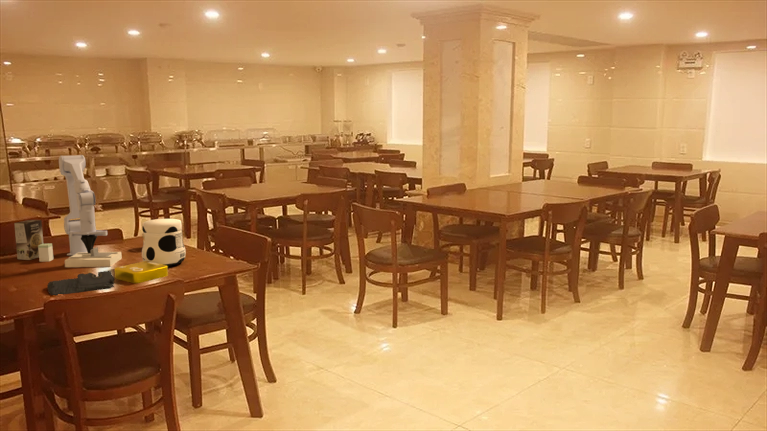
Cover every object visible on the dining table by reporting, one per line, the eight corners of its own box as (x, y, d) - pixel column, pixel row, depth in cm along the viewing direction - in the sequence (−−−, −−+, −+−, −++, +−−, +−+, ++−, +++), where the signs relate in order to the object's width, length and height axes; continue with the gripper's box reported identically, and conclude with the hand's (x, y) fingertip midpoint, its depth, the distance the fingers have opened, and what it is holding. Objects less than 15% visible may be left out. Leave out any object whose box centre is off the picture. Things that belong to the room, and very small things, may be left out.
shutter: (96, 254, 265) (95, 247, 264) (111, 253, 265) (111, 246, 265) (90, 257, 258) (89, 250, 258) (106, 257, 259) (105, 250, 259)
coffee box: (29, 260, 266) (26, 223, 264) (17, 259, 268) (13, 222, 265) (45, 255, 275) (42, 219, 273) (32, 254, 277) (29, 219, 274)
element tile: (170, 276, 243) (169, 264, 242) (136, 285, 231) (135, 272, 230) (146, 270, 251) (146, 259, 250) (112, 278, 239) (111, 266, 238)
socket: (78, 259, 268) (78, 251, 268) (121, 258, 270) (121, 250, 269) (65, 267, 255) (64, 259, 254) (110, 266, 256) (109, 258, 255)
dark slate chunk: (46, 287, 228) (45, 274, 227) (111, 279, 239) (110, 267, 238) (48, 298, 215) (47, 284, 214) (117, 288, 226) (116, 276, 225)
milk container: (140, 261, 264) (137, 220, 261) (182, 257, 272) (180, 217, 269) (145, 271, 249) (142, 227, 246) (189, 266, 257) (187, 223, 254)
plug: (43, 259, 268) (42, 243, 267) (53, 259, 268) (52, 243, 267) (39, 261, 264) (38, 245, 263) (49, 261, 265) (47, 245, 263)
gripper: (65, 222, 255) (68, 255, 257) (102, 222, 256) (104, 254, 258) (72, 219, 262) (75, 251, 264) (108, 219, 263) (110, 250, 265)
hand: (90, 252), depth 261 cm, fingers closed
